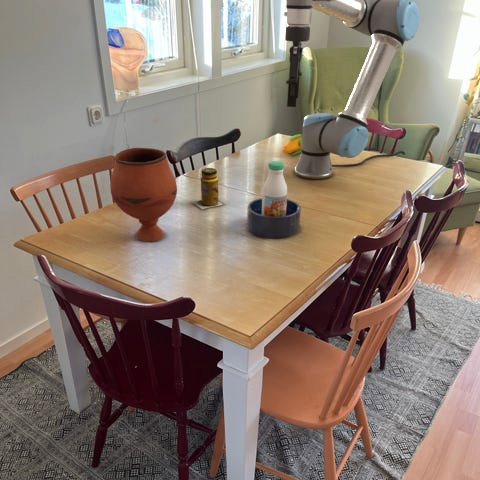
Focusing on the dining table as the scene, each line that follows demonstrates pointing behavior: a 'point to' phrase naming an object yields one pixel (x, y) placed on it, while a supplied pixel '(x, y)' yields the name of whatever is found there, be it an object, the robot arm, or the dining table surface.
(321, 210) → the dining table surface
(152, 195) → the goblet
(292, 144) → the corn
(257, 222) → the pot
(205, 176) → the condiment
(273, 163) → the milk bottle
